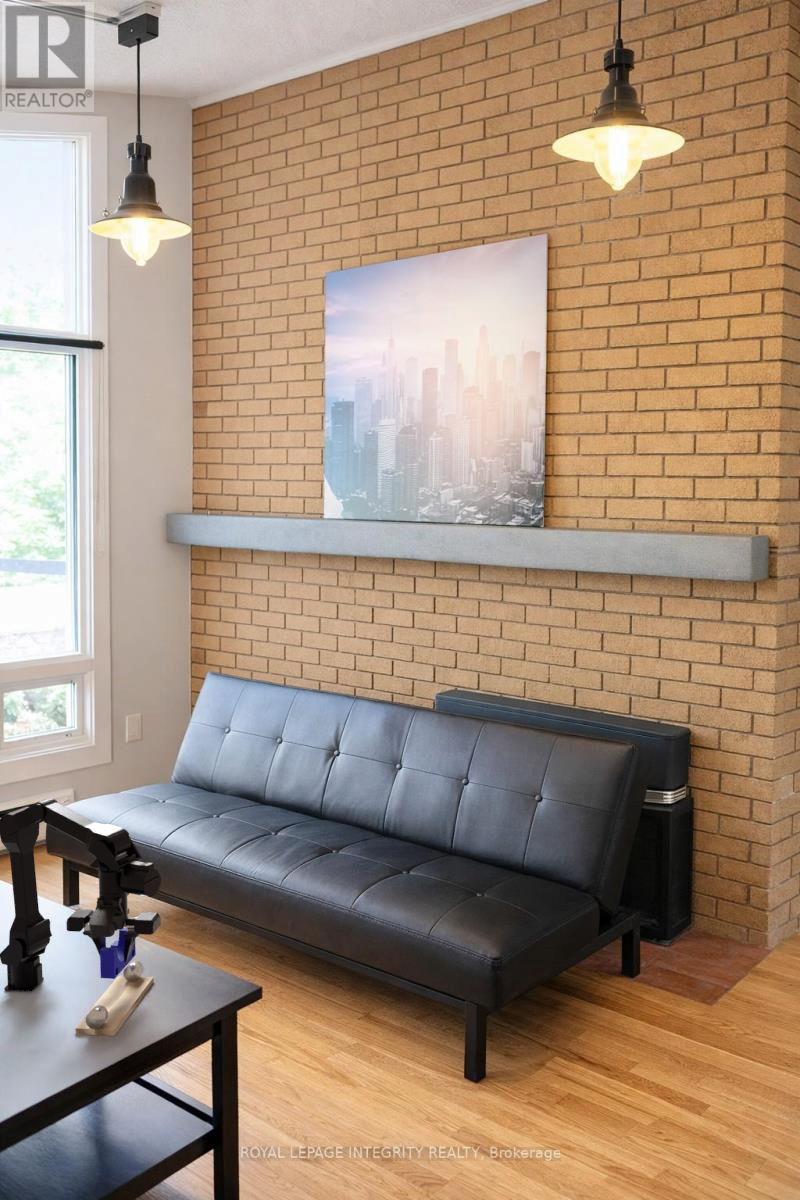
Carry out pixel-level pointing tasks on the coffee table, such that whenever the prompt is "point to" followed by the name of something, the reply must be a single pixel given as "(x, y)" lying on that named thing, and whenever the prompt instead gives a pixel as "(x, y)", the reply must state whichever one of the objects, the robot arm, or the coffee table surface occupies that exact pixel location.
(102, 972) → the cable clip
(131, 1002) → the light wooden board
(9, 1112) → the coffee table surface
